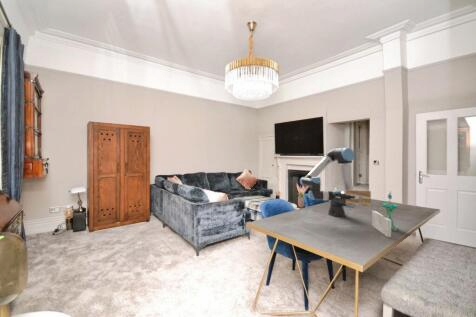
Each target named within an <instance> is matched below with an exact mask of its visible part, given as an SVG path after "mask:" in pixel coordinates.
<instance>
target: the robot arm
mask: <svg viewBox="0 0 476 317" xmlns="http://www.w3.org/2000/svg"><path fill="white" fill-rule="evenodd" d="M355 157H356V156H355V151H354V150H353V149H351V148H350V147H335V148H332V149H330V150H329V151H328V152H326V153H325V154H324V155H323V158H322V159H321V160H319V162H318V163H317V164H316V165H315V166H314V167H313V168H312V169H311V170H310V171H309V172H308V174H306V175H305V176H302V177H301V178H300V179H299V184H300V185H301V186H304V187H309V188H310V190H308V195H307V196H308V199H309V200H314V201H329V208H328V210H327V214H328V215H330V216H333V217H345V216H346V212H345V208H344V207H346V208H351V209H354V208H356V207H357V206H355V205H346V199H359V200H360V198H359V195H346V190H354V189H353V186H354V185H353V177H352V167H351V164H352V163H353V160H354V159H355ZM336 161H337V165H339V169H340V170H339V171H340V181H341V189H342V190H331V191H330V190H329V191H327V190H321V186H322V184H321V182H322V181H321V177H320V175H321V173H322V172H323V171H324V170H325V169H326V168H327V167H328V166H329V165H330V164H333V163H334V162H336Z"/></svg>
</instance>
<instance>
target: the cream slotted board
mask: <svg viewBox="0 0 476 317" xmlns="http://www.w3.org/2000/svg"><path fill="white" fill-rule="evenodd" d="M371 226H373V228H375V229H377V231H379V232H380V233H382V234H383V235H384V236H385V237H387V238H391V237H392V230H391V220H390V219H388V217H385V215H383V214H381V213H380V212H378V211H376V210H371Z"/></svg>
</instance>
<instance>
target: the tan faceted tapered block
mask: <svg viewBox="0 0 476 317" xmlns="http://www.w3.org/2000/svg"><path fill="white" fill-rule="evenodd" d="M371 192H372V191H370V190H355V189H353V190H346V195H359V199H346V205H355V206H356V207H357V206H360V205H359V204H360V203H359V201H360V199H362V206H363V207H371V204H372V201H371V197H372V196H371V194H372V193H371Z"/></svg>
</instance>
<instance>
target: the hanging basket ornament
mask: <svg viewBox="0 0 476 317" xmlns="http://www.w3.org/2000/svg"><path fill="white" fill-rule="evenodd" d="M392 196H393V195H392V191H391V190H389V193H388V194H387V198H388V201H387V202H386V203H382V204H381V207H382V208H385V211H386V212H385V213H386V214H387V218H388V219H390V220H391V232H392V231H397V230H399V227H398V226H396V225H395V223H394V220H393V217H392V216H393V214H394V212H395V210H396V209H398V208H399V205H397V204H394V203H392V201H391V199H393V197H392Z"/></svg>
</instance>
